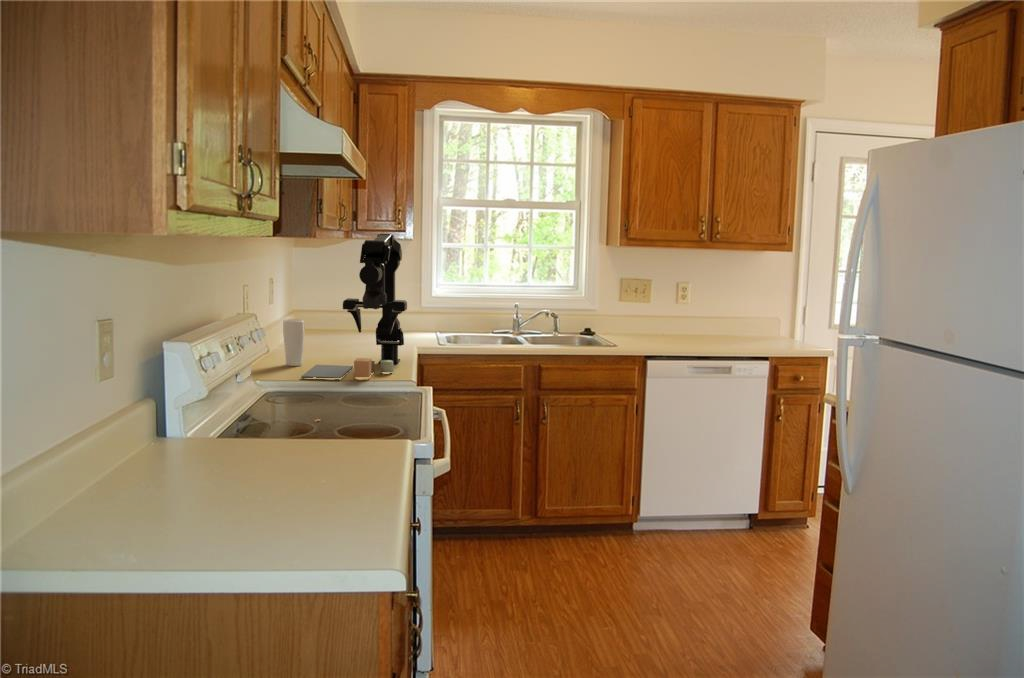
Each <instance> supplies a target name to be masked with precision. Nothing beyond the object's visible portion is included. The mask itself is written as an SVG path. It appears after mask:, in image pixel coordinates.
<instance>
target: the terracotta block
mask: <svg viewBox="0 0 1024 678" xmlns="http://www.w3.org/2000/svg"><path fill="white" fill-rule="evenodd" d="M371 361H372V358H361V357H360V358H359V357H357V358H355V360H354V361H353V378H354V377H369V376H370V375H371Z"/></svg>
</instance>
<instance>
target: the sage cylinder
mask: <svg viewBox="0 0 1024 678" xmlns="http://www.w3.org/2000/svg"><path fill="white" fill-rule="evenodd" d="M381 372H393V373H394V364H393V361H392V360H382V361H381V363H380V373H381Z"/></svg>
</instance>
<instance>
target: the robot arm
mask: <svg viewBox="0 0 1024 678" xmlns="http://www.w3.org/2000/svg"><path fill="white" fill-rule="evenodd" d="M394 236H395V235H394V234H392V233H378V234H377V237H376V238H374V239H373V240H372V239H365V240H364V242H363V243H362V245H361V250H360V251H361V252H360V259H359V264H364V266H363V267H362V268H361V269H360V270H359V276H358V277H359V279H360V281H361V282H362V284H364V285H365V289H364V290H365V291H364V293H363V296H362V301H361V300H360V299H359V298H352V297H351V298H346V299H344V300H343V302H342V309H343V310H347V313H350V314H351V316H352V317H353V319H354V321H355V325H356V327H357V330H358V333H359V334H360V333H362V317H361V308H363V309H364V310H368V309H373V310H378V309H382V310H381V316H382V317H381V318H380V319H379V321H378V323H377V327H376V328H375V343H376V346H380V347H381V349H380V360H378V364H381V361H382V360H392V361H393V365H394V364H395V365H397V364H399V362H401V359H400V358H399V347H401V346H404V345H405V337H404V331H402V330H403V329H402V328H401V321H400V320H399V319H398V316H399V315H401V314H402V313H403V312H406V311H407V310H408V302H407V301H406V300H405V299H403V300H402V299H396V272H397V270H398V269H399V267H400V265H401V261H402V260H403V251H402V245H401V243H399V242H398V241H397V240H396V239H395V237H394Z"/></svg>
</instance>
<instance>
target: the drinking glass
mask: <svg viewBox="0 0 1024 678" xmlns="http://www.w3.org/2000/svg"><path fill="white" fill-rule="evenodd" d="M282 334H283V343H284V353H285V365H286V366H288V367H299V366H302V365H303V356H304V355H303V354H304V344H305V343H304V341H305V320H304V319H302V318H288V319H287V318H286V319H283V321H282Z"/></svg>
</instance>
